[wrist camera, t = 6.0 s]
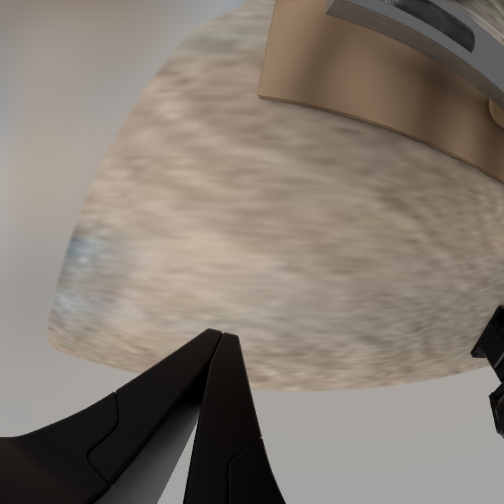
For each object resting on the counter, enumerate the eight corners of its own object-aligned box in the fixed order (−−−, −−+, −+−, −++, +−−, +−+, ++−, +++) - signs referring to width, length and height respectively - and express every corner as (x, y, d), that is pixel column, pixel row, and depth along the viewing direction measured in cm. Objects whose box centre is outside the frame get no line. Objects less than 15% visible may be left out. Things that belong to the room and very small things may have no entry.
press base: (533, 98, 10) (543, 98, 9) (522, 196, 14) (532, 200, 13) (282, -16, 12) (281, -25, 11) (260, 98, 16) (256, 94, 15)
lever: (549, 122, 8) (570, 127, 6) (547, 157, 9) (568, 164, 7) (329, -28, 7) (343, -52, 4) (323, 16, 8) (339, -6, 6)
